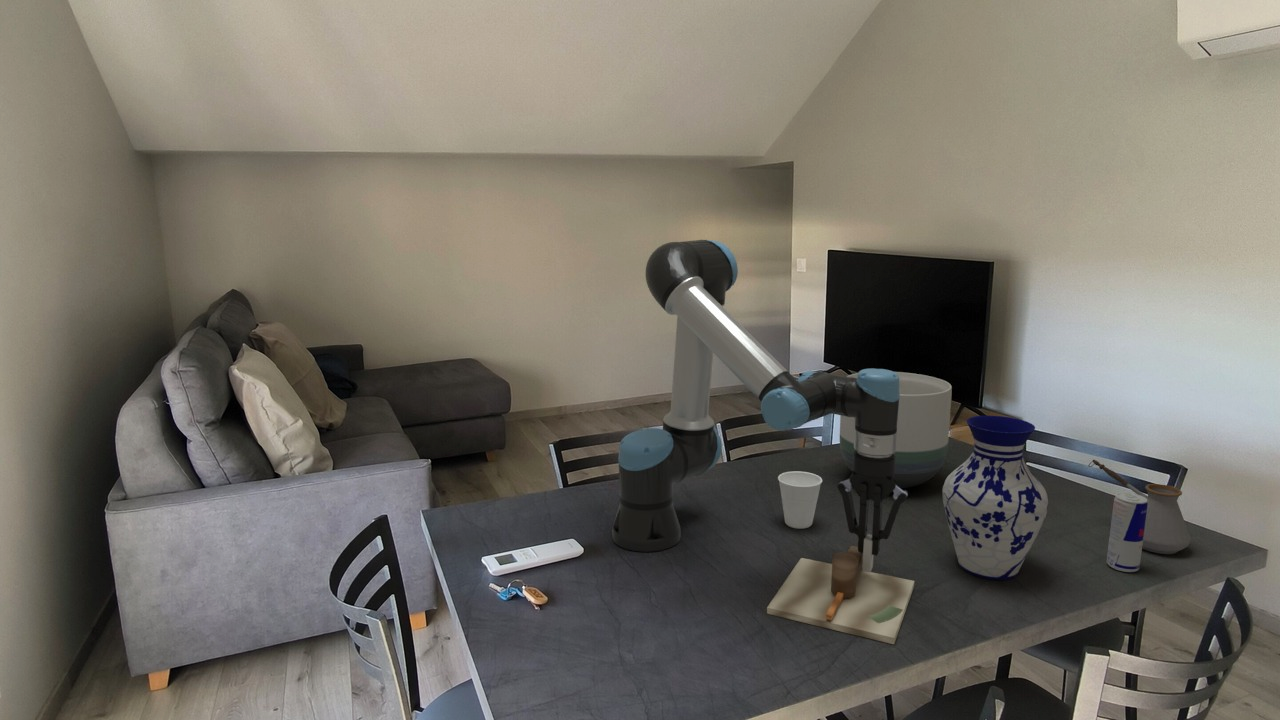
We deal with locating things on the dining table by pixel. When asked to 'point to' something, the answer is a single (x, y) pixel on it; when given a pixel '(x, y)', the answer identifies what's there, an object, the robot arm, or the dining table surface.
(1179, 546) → the coffee pot
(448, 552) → the dining table surface
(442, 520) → the dining table surface
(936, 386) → the planter
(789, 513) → the cup
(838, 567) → the wooden mallet
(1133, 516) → the beverage can
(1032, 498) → the vase
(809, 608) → the cream flat square slab
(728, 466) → the dining table surface
